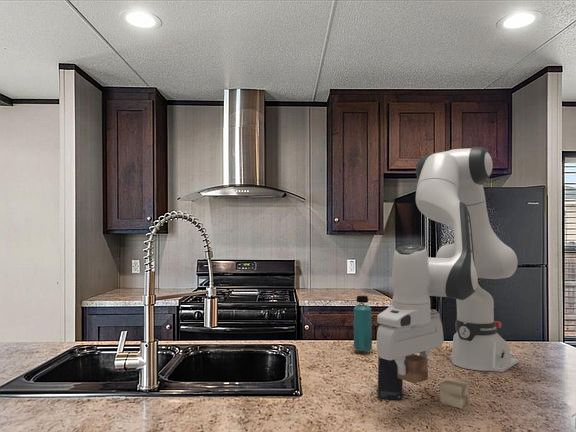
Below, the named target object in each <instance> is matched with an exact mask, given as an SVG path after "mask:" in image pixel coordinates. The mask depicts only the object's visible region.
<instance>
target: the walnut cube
mask: <svg viewBox="0 0 576 432" xmlns="http://www.w3.org/2000/svg"><path fill="white" fill-rule="evenodd" d="M428 358H429V357H428ZM428 358H425V357H422V356H420V355H418V354H412V355H409V356H405V361H404V364H405V366H407V367H408V374H406V375H401V374H399V372H398V365H397V378H399V379H402V380H403V381H405V382H408V383H411V384H413V385H415V384H418V383H422V382H423V381H427V380H429V371H428V370H429V365H428V364H429V363H428V362H429V360H428Z"/></svg>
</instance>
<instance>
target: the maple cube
mask: <svg viewBox="0 0 576 432" xmlns="http://www.w3.org/2000/svg"><path fill="white" fill-rule="evenodd" d="M439 385H440V388H439V389H440V391H439V392H440V397H439V398H440V399H439V400H440V403H439V404H442V405H446V404H447V405H446V406H450V405H451V407H454V406H455V408H458V407H459V408H458V409H461V408H463V407H464V406H465V405H466V404H468V403H469V400H468V396H469V395H468V392H469V391H468V382H466V381H463V380H462V381H461V380H457V379H452V378H446V379H445V380H443V381H442V382H440V384H439ZM463 405H464V406H463ZM462 406H463V407H462Z"/></svg>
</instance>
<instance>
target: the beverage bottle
mask: <svg viewBox="0 0 576 432" xmlns="http://www.w3.org/2000/svg"><path fill="white" fill-rule="evenodd" d="M355 301H356V303H363V304H357V305H355V306H354V307H353V348H354V349H355V350H356V351H362V352H363V351H371V350H372V347H373V334H372V333H373V328H372V327H373V326H372V324H373V322H372V307H370V305H368V304H366V303H369V297H368V295H357V296H356V300H355ZM364 303H365V304H364Z"/></svg>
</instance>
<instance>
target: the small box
mask: <svg viewBox="0 0 576 432" xmlns="http://www.w3.org/2000/svg"><path fill="white" fill-rule="evenodd" d="M377 356H378V358H377V399H385V400H396V401H397V400H398V401H402V399H403V381H404V380H402V379H399V378H397V364H396V362H395V360H386V359H383V358H381V357H380V356H379V355H378V354H377Z"/></svg>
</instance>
